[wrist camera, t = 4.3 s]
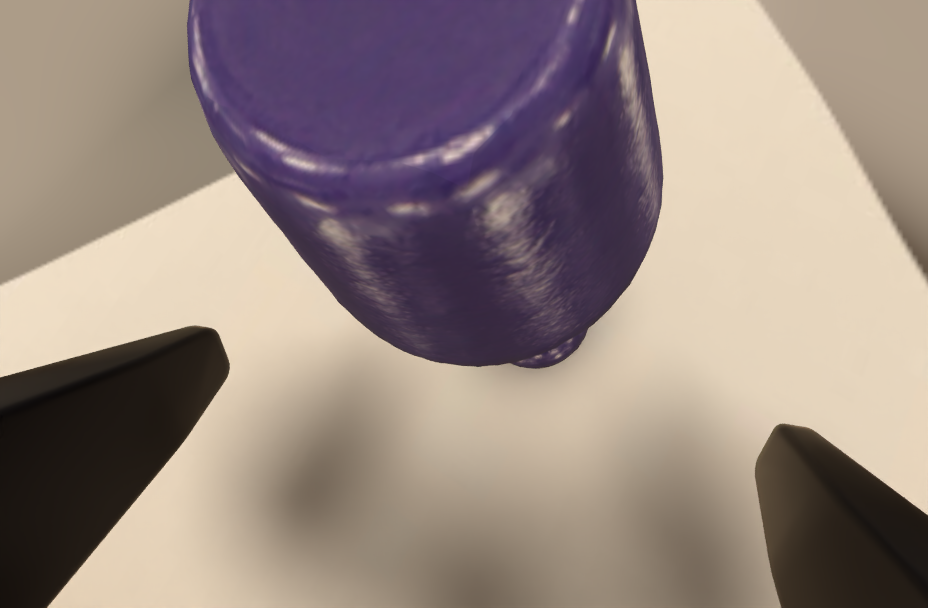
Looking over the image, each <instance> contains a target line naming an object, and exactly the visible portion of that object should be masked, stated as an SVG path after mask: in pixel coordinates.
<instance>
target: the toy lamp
mask: <svg viewBox="0 0 928 608" xmlns="http://www.w3.org/2000/svg"><path fill="white" fill-rule="evenodd" d="M187 34H188V54H189V67H190V74H191V79H192V82H193V85H194V88H195V90H196V93H197V96H198V99H199V101H200V104H201V107H202V109H203V112H204V114H205V117H206V120H207V122H208V125H209V127H210V130H211V132H212V135H213V137H214V138H215V140H216V142H217V143H218V145H219V147H220V149H221V150H222V152H223V154H224V155H225V156H226V158H227V160H228V161H229V163H230V164H231V166H232V167H233V169H234V170H235V172H236V173H237V175H238V176H239V178H240V179H241V180H242V182H243V183H244V184H245V185H246V187H247V188H248V189H249V191H250V192H251V193H252V194H253V196H254V197H255V198H256V200H257V201H258V202H259V203H260V205H261V206H262V207H263V209H264V210H265V211H266V212H267V214H268V215H269V216H270V218H271V219H272V220H273V221H274V223H275V224H276V225H277V226H278V227H279V228H280V230H281V231H282V232H283V233H284V235H285V236H286V237H287V239H288V240H289V241H290V243H291V244H292V245H293V247H294V248H295V249H296V251H297V252H298V253H299V255H300V256H301V257H302V259H303V260H304V261H305V262H306V263H307V265H308V266H309V267H310V268H311V269H312V270H313V271H314V272H315V274H316V275H317V276H318V277H319V279H320V280H321V281H322V282H323V283H324V284H325V286H326V287H327V288H328V289H329V290H330V292H331V293H332V294H333V295H334V297H335V298H336V299H337V301H338V302H339V303H340V304H341V305H342V306H343V307H344V308H346V309H347V310H348V311H349V312H350V313H351V314H352V315H353V316H354V317H355V318H356V319H357V320H358V321H359V322H360V323H362V324H363V325H364V326H365V327H366V328H368V329H369V330H370V331H371V332H373V333H374V334H375V335H377V336H378V337H379V338H381V339H383V340H385V341H386V342H388V343H390V344H391V345H393V346H395V347H396V348H398V349H400V350H402V351H404V352H407V353H409V354H412V355H414V356H418V357H422V358H424V359H427V360H430V361H434V362H439V363H447V364H454V365H461V366H476V367H481V366H489V365H501V364H506V363H511V364H514V365H517V366H519V367H526V368H535V369H536V368H543V367H549V366H552V365H555V364H557V363H559V362H561V361H563V360H564V359H566V358H567V357H568V356H570V355H571V354H572V353H573V352H574V351H575V350H576V349H577V348H578V347H579V345H580V344H581V343H582V341H583V339H584V337H585V336H586V333H587V330H588V328H589V327H590V326H592V325H593V324H594V323H595V322H596V321H598V320H599V319H600V318H601V317H602V316H603V315H604V314H605V313H606V312H607V311H608V310H609V309H610V308H611V307H612V305H613V304H614V303H615V302H616V300H617V299H618V298H619V297H620V295H621V294H622V293H623V292H624V291H625V290H626V288H627V287H628V286H629V285H630V283H631V281H632V280H633V278H634V276H635V274H636V273H637V271H638V269H639V267H640V265H641V263H642V262H643V260H644V258H645V256H646V254H647V251H648V249H649V247H650V244H651V241H652V239H653V236H654V233H655V231H656V227H657V222H658V218H659V213H660V209H661V203H662V186H663V166H662V154H661V145H660V137H659V130H658V125H657V119H656V113H655V107H654V101H653V95H652V87H651V80H650V74H649V68H648V63H647V58H646V52H645V47H644V42H643V37H642V31H641V26H640V21H639V15H638V10H637V4H636V0H190V3H189V13H188V22H187Z"/></svg>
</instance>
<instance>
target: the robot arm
mask: <svg viewBox="0 0 928 608" xmlns="http://www.w3.org/2000/svg"><path fill="white" fill-rule="evenodd" d="M229 369H230V363H229V360H228V357H227V355H226V352H225V349H224V347H223V344H222V341H221V339H220V336H219V334H218V333H217V331H216V330H214V329H212V328H207V327H202V326H188V327H185V328H181V329H177V330H173V331H170V332H166V333H162V334H159V335H155V336H151V337H148V338H144V339H140V340H137V341H133V342H129V343H126V344H122V345H118V346H115V347H111V348H107V349H103V350H100V351H96V352H92V353H89V354H85V355H81V356H78V357H74V358H70V359H67V360H63V361H59V362H56V363H52V364H48V365H45V366H41V367H37V368H34V369H30V370H26V371H22V372H19V373H15V374H11V375H8V376H4V377H0V608H47V607H48V606H49V605H50V603H51V602H52V601H53V600H54V598H55V597H56V596H57V595H58V594H59V592H60V591H61V590H62V589H63V588H64V586H65V585H66V584H67V583H68V582H69V580H70V579H71V578H72V577H73V576H74V574H75V573H76V572H77V571H78V569H79V568H80V567H81V566H82V565H83V563H84V562H85V561H86V560H87V559H88V557H89V556H90V555H91V554H92V553H93V551H94V550H95V549H96V548H97V546H98V545H99V544H100V543H101V542H102V540H103V539H104V538H105V537H106V536H107V534H108V533H109V532H110V531H111V530H112V528H113V527H114V526H115V525H116V524H117V522H118V521H119V520H120V519H121V517H122V516H123V515H124V514H125V513H126V511H127V510H128V509H129V508H130V507H131V505H132V504H133V503H134V502H135V501H136V499H137V498H138V497H139V496H140V495H141V493H142V492H143V491H144V490H145V488H146V487H147V486H148V485H149V484H150V482H151V481H152V480H153V479H154V478H155V476H156V475H157V474H158V473H159V472H160V470H161V469H162V468H163V467H164V466H165V464H166V463H167V462H168V461H169V459H170V458H171V457H172V456H173V455H174V453H175V452H176V451H177V450H178V448H179V447H180V446H181V445H182V443H183V442H184V441H185V439H186V438H187V436H188V435H189V433H190V432H191V431H192V429H193V428H194V426H195V425H196V423H197V422H198V420H199V419H200V417H201V416H202V414H203V413H204V411H205V410H206V408H207V407H208V405H209V404H210V402H211V401H212V399H213V398H214V396H215V395H216V393H217V392H218V391H219V389H220V388H221V386H222V385H223V383H224V382H225V380H226V378H227V376H228V374H229ZM755 479H756V485H757V491H758V497H759V503H760V509H761V515H762V521H763V527H764V533H765V539H766V545H767V551H768V557H769V562H770V567H771V572H772V576H773V579H774V583H775V587H776V591H777V594H778V597H779V601H780V604H781V608H928V515H927V514H925V513H924V512H923V511H921V510H920V509H919V508H917V507H916V506H915V505H913V504H912V503H910V502H909V501H908V500H906V499H905V498H904V497H902V496H901V495H900V494H898V493H897V492H896V491H894V490H893V489H892V488H890V487H889V486H888V485H886V484H885V483H884V482H882V481H881V480H880V479H878V478H877V477H876V476H874V475H873V474H872V473H870V472H869V471H868V470H866V469H865V468H864V467H862V466H861V465H859V464H858V463H857V462H855V461H854V460H853V459H851V458H850V457H849V456H847V455H846V454H845V453H843V452H842V451H841V450H839V449H838V448H837V447H835V446H834V445H833V444H831V443H830V442H829V441H827V440H826V439H825V438H823V437H822V436H821V435H819V434H818V433H817V432H815V431H814V430H812V429H810V428H807V427H801V426H795V425H789V424H779V425H777V426H776V427H775V428H774V430H773V431H772V433H771V435H770V437H769V438H768V440H767V442H766V444H765V446H764V447H763V449H762V451H761V453H760V455H759V457H758V459H757V462H756V467H755Z"/></svg>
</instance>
